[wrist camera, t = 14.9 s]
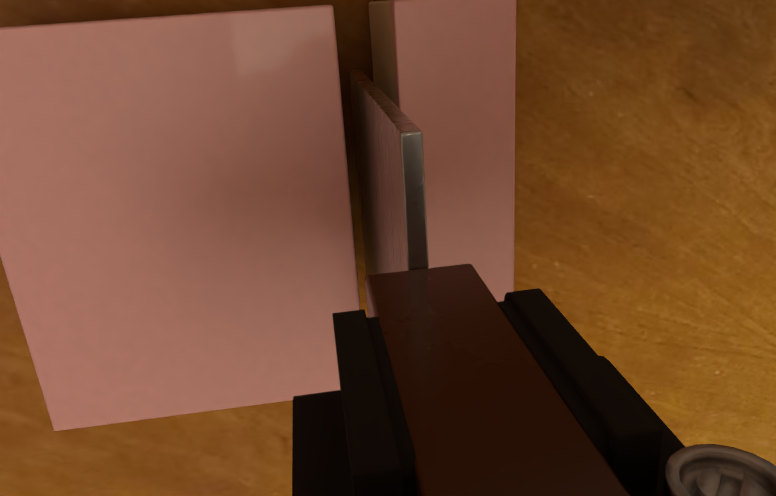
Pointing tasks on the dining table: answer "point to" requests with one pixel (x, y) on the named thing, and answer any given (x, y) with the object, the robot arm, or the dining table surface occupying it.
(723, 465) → the robot arm
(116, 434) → the dining table surface
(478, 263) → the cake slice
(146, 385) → the sponge cake
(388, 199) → the kitchen knife
